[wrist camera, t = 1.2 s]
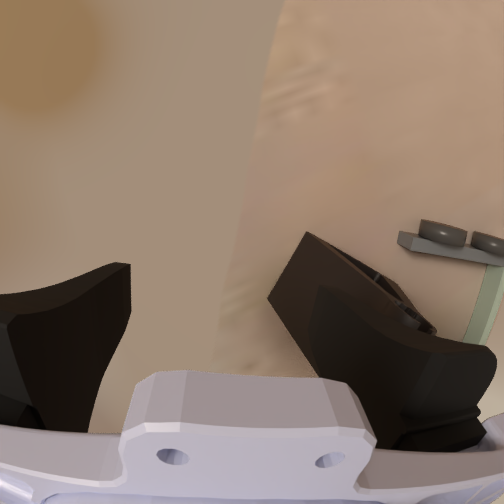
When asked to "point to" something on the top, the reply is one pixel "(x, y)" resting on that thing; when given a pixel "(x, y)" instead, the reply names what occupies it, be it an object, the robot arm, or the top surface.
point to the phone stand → (341, 276)
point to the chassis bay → (481, 250)
